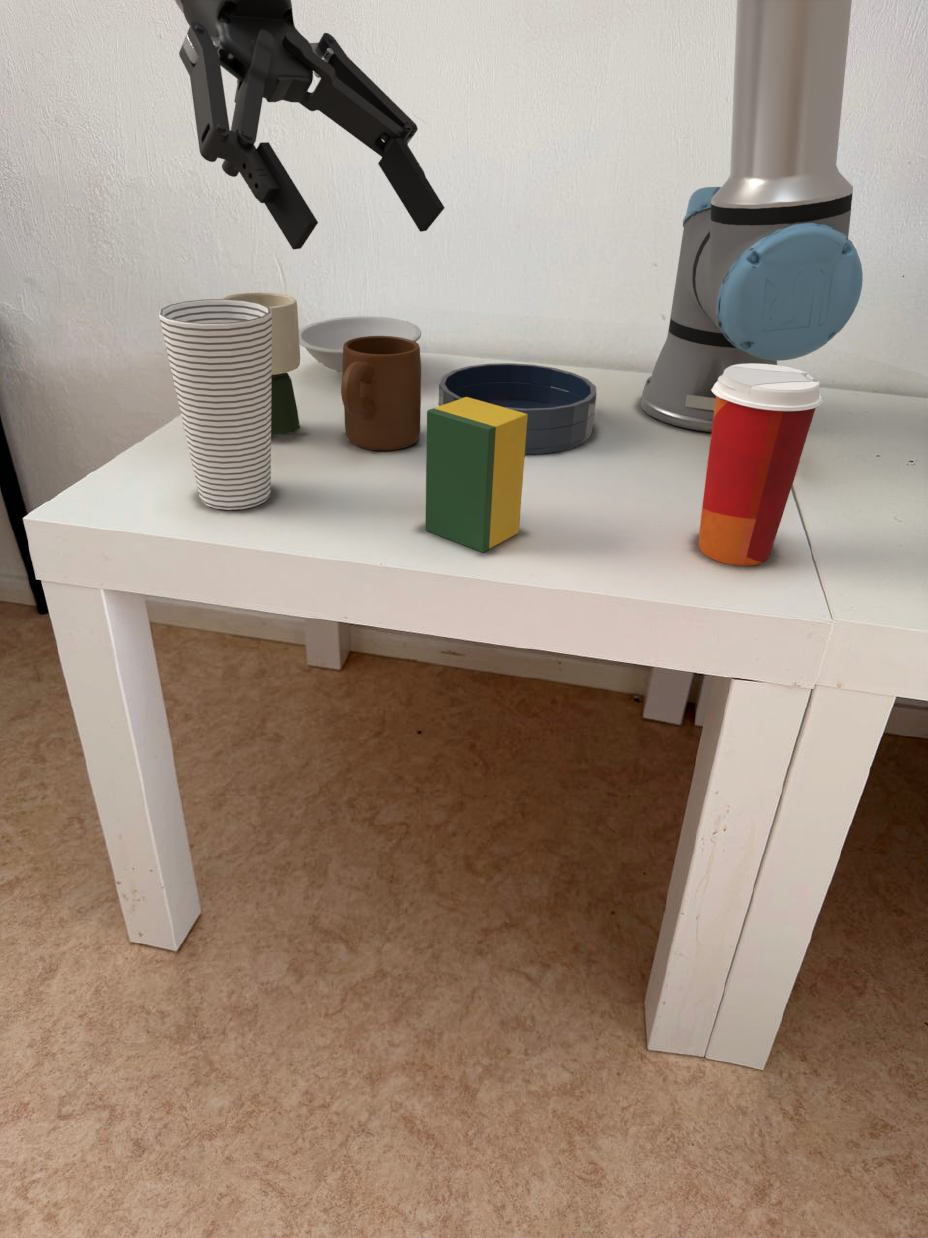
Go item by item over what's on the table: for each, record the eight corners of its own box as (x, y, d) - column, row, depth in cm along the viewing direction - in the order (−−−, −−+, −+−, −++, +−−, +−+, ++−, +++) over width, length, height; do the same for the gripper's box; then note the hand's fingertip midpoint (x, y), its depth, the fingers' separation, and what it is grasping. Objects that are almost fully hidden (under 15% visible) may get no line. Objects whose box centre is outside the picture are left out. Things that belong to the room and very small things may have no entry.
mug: (386, 473, 82) (385, 371, 77) (312, 461, 84) (306, 361, 79) (431, 432, 92) (432, 339, 87) (363, 422, 94) (361, 331, 89)
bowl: (535, 395, 104) (538, 356, 102) (622, 439, 92) (628, 397, 90) (412, 414, 97) (412, 373, 94) (490, 464, 85) (492, 419, 83)
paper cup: (764, 529, 75) (803, 362, 67) (797, 573, 68) (844, 393, 61) (673, 528, 74) (702, 359, 67) (696, 571, 68) (731, 390, 60)
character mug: (259, 412, 95) (248, 285, 89) (321, 419, 94) (315, 291, 87) (211, 446, 86) (195, 308, 80) (280, 455, 85) (269, 315, 78)
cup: (271, 472, 81) (257, 295, 73) (297, 508, 75) (284, 319, 67) (176, 485, 78) (150, 301, 70) (195, 523, 72) (168, 327, 64)
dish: (389, 402, 100) (388, 357, 97) (273, 387, 103) (270, 343, 101) (439, 362, 114) (439, 322, 112) (336, 350, 118) (334, 311, 115)
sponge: (462, 511, 75) (466, 396, 70) (519, 533, 72) (528, 413, 67) (424, 529, 72) (426, 409, 67) (483, 552, 69) (489, 429, 64)
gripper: (323, 37, 78) (450, 243, 78) (56, 17, 61) (219, 280, 61) (365, -41, 72) (503, 182, 72) (84, -86, 55) (264, 204, 55)
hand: (373, 227), depth 66 cm, fingers open, 13 cm apart
